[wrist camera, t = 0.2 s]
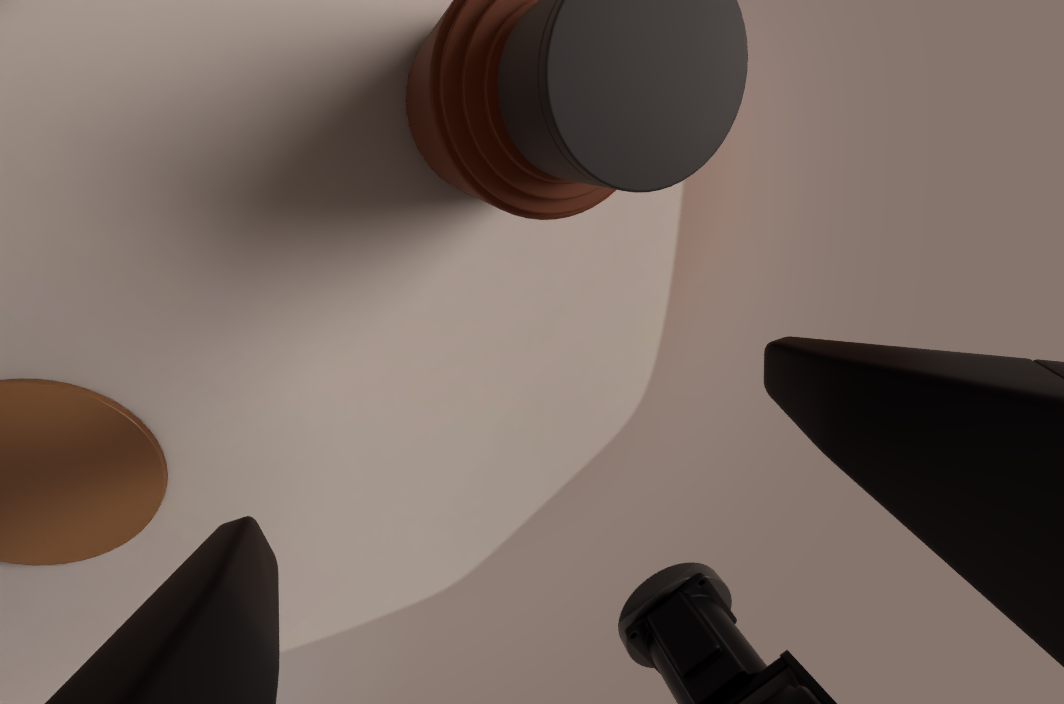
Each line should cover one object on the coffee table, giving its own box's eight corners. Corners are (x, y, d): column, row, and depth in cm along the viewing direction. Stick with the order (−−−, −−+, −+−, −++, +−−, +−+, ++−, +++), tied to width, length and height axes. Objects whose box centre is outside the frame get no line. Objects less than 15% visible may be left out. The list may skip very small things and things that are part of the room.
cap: (681, 121, 13) (776, 116, 10) (555, 214, 13) (614, 237, 10) (608, -51, 11) (699, -119, 8) (461, 57, 11) (499, 27, 8)
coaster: (214, 473, 22) (212, 478, 22) (58, 590, 22) (53, 597, 21) (28, 334, 18) (22, 338, 18) (-163, 474, 18) (-173, 481, 18)
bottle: (596, 135, 22) (822, 133, 11) (472, 228, 21) (583, 313, 11) (512, -27, 19) (714, -240, 8) (367, 78, 18) (383, 0, 8)
